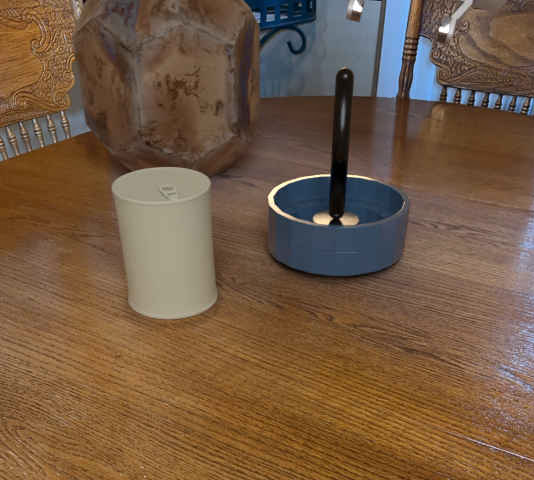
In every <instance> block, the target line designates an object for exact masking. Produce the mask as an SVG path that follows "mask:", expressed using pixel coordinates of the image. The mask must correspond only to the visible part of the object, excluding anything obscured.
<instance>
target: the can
mask: <svg viewBox="0 0 534 480" xmlns="http://www.w3.org/2000/svg"><path fill="white" fill-rule="evenodd" d="M211 187H212V182H211V179H210V177H207V176H206V175H204V174H203V173H201V172H198V171H195V170H191V169H186V168H178V167H156V168H147V169H142V170H137V171H133V172H132V171H130V172H127V173H125V174H122V175H121V176H119V177H118V178H116V179H115V180H114V182H112V184H111V192H112V196H113V200H114V208H115V212H116V219H117V225H118V231H119V238H120V244H121V245H120V246H121V251H122V258H123V263H124V264H123V265H124V271H125V278H126V279H125V280H126V286H127V303H128V305H129V307H130V308H131V309H132V310H133V311H134V312H135V313H137V314H138V315H141V316H143V317H146V318H151V319H156V320H182V319H188V318H191V317H195V316H197V315H200V314H203V313H205V312H206V311H208V310H209V309H211V308H212V307H214V305H215V304H216V302H217V300H218V298H219V291H218V288H217V281H216V269H215V268H216V267H215V254H214V253H215V252H214V237H213V236H214V235H213V219H212V218H213V217H212V195H211V193H212V191H211Z"/></svg>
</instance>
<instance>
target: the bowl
mask: <svg viewBox="0 0 534 480" xmlns="http://www.w3.org/2000/svg"><path fill="white" fill-rule="evenodd" d="M329 190H330V173H329V174H316V175H309V176H308V175H307V176H301V177H297V178H295V179H294V178H293V179H291V180H287V181H285V182H284V181H283V182H282V183H281V184H279V185H277V186H275V187H274V188H272V190H271V191H270V192H269V193H268V195H267V197H266V200H267V201H266V202H267V204H266V206H267V209H266V211H267V212H266V213H267V214H266V215H267V216H266V218H267V219H266V220H267V221H266V223H267V227H266V228H267V230H266V232H267V233H266V235H267V237H266V238H267V249H268V252H269V253H270V254H271V256H272V257H273V258H274V259H275V260H277V262H280V263H282V264H284V265H285V266H287V267H289V268H291V269H295V270H298V271H302V272H305V273H308V274H312V275H318V276H324V277H353V276H361V275H365V274H369V273H370V274H371V273H374V272H379V271H381V270H384V269H386V268H388V267H391V266H393V265H394V264H395V263H396V262H397V261H399V260H400V259H401V258H402V257H403V254H404V251H405V249H406V248H405V246H406V240H407V232H408V225H409V217H410V210H411V200H410V198H409V196H408V194H407V192H405V191H404V190H403V189H401V188H399V187H398V186H397V185H395V184H391V183H390V182H386V181H384V180H380V179H377V178H371V177H367V176H362V175H354V174H347V186H346V200H345V211H348V212H351V213H353V214H355V215H357V216H358V217H359V225H328V224H318V223H312V221H313V216H314V215H315V214H317V213H319V212H322V211H327V210H328V208H329Z"/></svg>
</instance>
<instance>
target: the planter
mask: <svg viewBox="0 0 534 480" xmlns="http://www.w3.org/2000/svg"><path fill="white" fill-rule="evenodd" d="M260 28H261V27H260V24H259V22H258V20H257V18H256V16H255V14H254V12H253V11H252V8H251V7H250V6H249V4H247V2H246V1H245V0H85V2H84V3H83V6H82V8H81V12H80V14H79V17H78V19H77V23H76V24H75V27H74V30H73V33H72V35H71V41H72V48H73V52H74V53H73V54H74V60H75V65H76V72H77V78H78V84H79V90H80V96H81V102H82V109H83V114H84V115H83V116H84V120H85V125H86V127H88V129H89V130H90V131H91V132H92V134H93V135H94V136H95V137H96V138H97V139H98V141H99V142H100V143H101V144H102V145H103V147H104V148H105V149H106V150H107V151H108V152H109V154H110V155H111V156H112V157H113V159H115V160H117V161H118V162H119V163H120V164H122V165H123V166H125V167H126V168H127V169H129V170H130V172H133V171H137V170H142V169H147V168H156V167H178V168H186V169H191V170H195V171H198V172H201V173H203V174H204V175H206V176H207V177H208V178H210V177H213V176H216V175H220V174H222V173H224V172H225V171H226V170H227V169H228V168H229V167H230V166H232V164H234V162H236V161H237V160H238V159H239V158H240V157H241V156H242V155H243V154H244V153H245V152H246V151H247V150H248V149H249V148H250V147H252V145H253V143H254V139H255V134H256V130H257V126H258V122H259V117H260V113H261V38H260V37H261V33H260V32H261V31H260V30H261V29H260Z"/></svg>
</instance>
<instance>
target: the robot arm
mask: <svg viewBox="0 0 534 480" xmlns="http://www.w3.org/2000/svg"><path fill="white" fill-rule="evenodd" d="M444 1H446V2H450V3H454V4H455V6H454V12H453V14H451V16H444V15H442V17H441V19H440V22H439V24H438V28H437V31H436V32H437V33H436V36H435V39H434V41H435V42H437V43H441V44H444V45H450V43H451V41H452V37H453V34H454V31H455V28H457V27H458V25H460V24H461V22H462V21H463V20H464V19H465V18H466V17H467V16H468V14H469V11H470V9H471V8H474V9H479V10H482V11H486V12H490V13H496V12H497V11H499V10H500V9H501V8H503V7H504V6H505V5H506V3H507V2H508V0H444ZM347 2H348V5H347V10H346V16H345V20H348V21H352V22H356V23H360V22H361V20H362V19H361V18H362V14H363V10H364V7H365V2H366V1H365V0H347Z"/></svg>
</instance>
